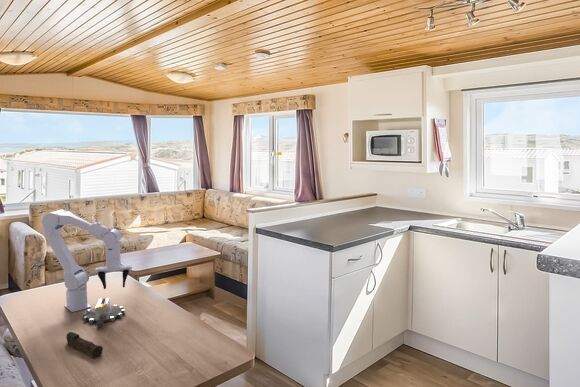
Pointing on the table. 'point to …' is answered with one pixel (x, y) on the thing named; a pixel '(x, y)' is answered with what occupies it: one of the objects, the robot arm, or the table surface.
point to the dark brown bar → (84, 345)
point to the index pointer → (100, 324)
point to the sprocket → (113, 314)
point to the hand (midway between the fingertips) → (114, 287)
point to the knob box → (102, 309)
